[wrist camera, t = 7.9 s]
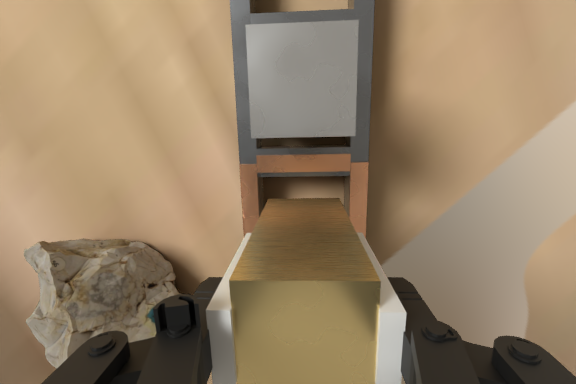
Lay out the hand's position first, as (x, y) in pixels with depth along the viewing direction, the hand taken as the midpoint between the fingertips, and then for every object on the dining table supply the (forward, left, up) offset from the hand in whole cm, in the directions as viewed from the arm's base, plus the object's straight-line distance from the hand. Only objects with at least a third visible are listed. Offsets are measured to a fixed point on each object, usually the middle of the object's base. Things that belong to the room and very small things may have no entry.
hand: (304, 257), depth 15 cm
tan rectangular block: (0, 0, -4) cm, 4 cm away
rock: (-14, -6, -9) cm, 18 cm away
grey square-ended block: (0, +8, -9) cm, 12 cm away
